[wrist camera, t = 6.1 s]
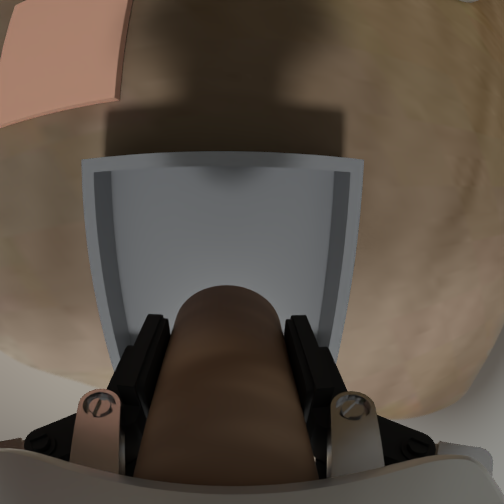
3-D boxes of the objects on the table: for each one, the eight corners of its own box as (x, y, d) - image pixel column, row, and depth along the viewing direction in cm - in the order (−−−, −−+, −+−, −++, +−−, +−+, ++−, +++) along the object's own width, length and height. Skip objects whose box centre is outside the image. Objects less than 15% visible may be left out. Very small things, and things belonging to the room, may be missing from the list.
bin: (342, 159, 19) (363, 159, 15) (319, 358, 23) (330, 385, 20) (104, 158, 17) (81, 159, 14) (129, 358, 22) (118, 385, 19)
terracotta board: (140, -31, 13) (137, -37, 12) (119, 100, 16) (114, 97, 15) (20, 8, 12) (15, 5, 11) (-2, 128, 15) (-9, 128, 14)
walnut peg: (284, 284, 11) (349, 476, 4) (276, 370, 13) (306, 533, 5) (169, 284, 11) (98, 471, 4) (180, 370, 12) (153, 532, 5)
